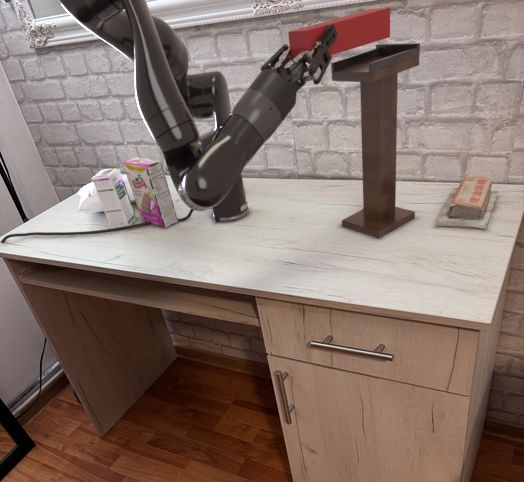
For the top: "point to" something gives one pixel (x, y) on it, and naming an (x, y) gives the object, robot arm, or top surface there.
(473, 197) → the packaged product
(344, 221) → the wooden lectern
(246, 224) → the top surface
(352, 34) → the long red slab
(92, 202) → the pouch
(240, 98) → the robot arm
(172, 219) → the candy bar box
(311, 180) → the top surface
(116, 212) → the syrup box
